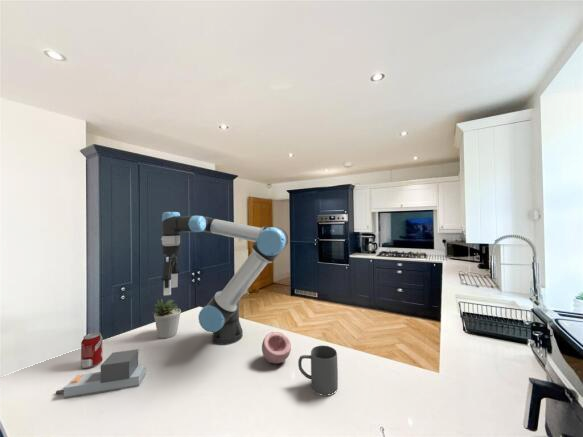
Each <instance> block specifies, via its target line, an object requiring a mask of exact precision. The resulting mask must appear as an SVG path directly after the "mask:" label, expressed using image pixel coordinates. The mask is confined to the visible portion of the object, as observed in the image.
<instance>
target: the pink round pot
mask: <svg viewBox="0 0 583 437" xmlns="http://www.w3.org/2000/svg"><path fill="white" fill-rule="evenodd" d="M291 350H292V343H291V341H290V339H289V338H288V336H286V335H285V334H284V333H283V332H278V331H272V332H269V333H267V334H266V335H265V337H264V338H263V340H262V343H261V352H262V355H263V357H264V358H265V360H266V361H268V362H269V363H270V364H275V365H276V364H277V365H278V364H281V363H283V362H284V361H286V360H287V359H288V357H289V355H291Z"/></svg>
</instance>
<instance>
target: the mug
mask: <svg viewBox="0 0 583 437" xmlns="http://www.w3.org/2000/svg"><path fill="white" fill-rule="evenodd" d="M303 359H310V374H308V373H307V372H306V371H305V370H304V368H303V366H302V361H303ZM297 366H298V371H300V373H301V375H303V376H304V377H305V378H307V379H309V380H311V381H310V382H311V388H312V390H313V392H314V391H315V392H314V393H316V394H317V393H319V394H322V395H328V394H332V393H334V392H335V391H336V390H337V391H338V386H339V384H338V383H339V382H338V380H339V376H338V374H339V373H338V372H339V371H338V368H339V367H338V352H337V350H336V349H335V348H333V347H332V346H330V345H318V346H317V345H316V346H315V347H313V348H312V349H311V351H310V355H309V354H303V355H300V356H299V358H298V363H297ZM337 391H336V392H337ZM319 394H318V395H319ZM334 394H335V393H334ZM322 395H321V396H322Z"/></svg>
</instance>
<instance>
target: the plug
mask: <svg viewBox="0 0 583 437" xmlns="http://www.w3.org/2000/svg"><path fill="white" fill-rule="evenodd" d="M137 366H139V349H138V348H137V349H131V350H129V349H128V350H123V351H115V352H114V351H113V352H112V353H111V354H109V356H107V358H106V359H105V360H104V361H102V362H101V364H100V372H101V376H100V383H106V382H112V381H118V380H125V379H129V378H130V377H131V375H132V374H133V372H134V371H135V369H136V368H137Z"/></svg>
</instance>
